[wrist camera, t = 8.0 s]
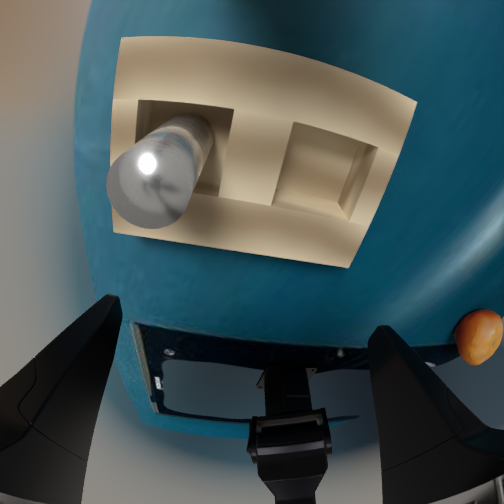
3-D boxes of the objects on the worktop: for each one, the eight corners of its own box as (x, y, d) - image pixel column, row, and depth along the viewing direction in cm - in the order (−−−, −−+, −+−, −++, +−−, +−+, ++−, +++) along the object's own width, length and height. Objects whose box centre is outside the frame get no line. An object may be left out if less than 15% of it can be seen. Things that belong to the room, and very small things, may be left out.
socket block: (337, 243, 21) (348, 268, 19) (128, 209, 19) (113, 232, 16) (392, 95, 14) (416, 102, 12) (141, 41, 12) (121, 37, 9)
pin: (209, 164, 17) (186, 234, 10) (160, 158, 16) (108, 223, 10) (218, 115, 15) (194, 152, 8) (165, 110, 14) (105, 144, 8)
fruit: (436, 354, 31) (469, 377, 24) (449, 303, 31) (487, 318, 23) (468, 347, 32) (500, 365, 24) (480, 300, 31) (514, 312, 23)
